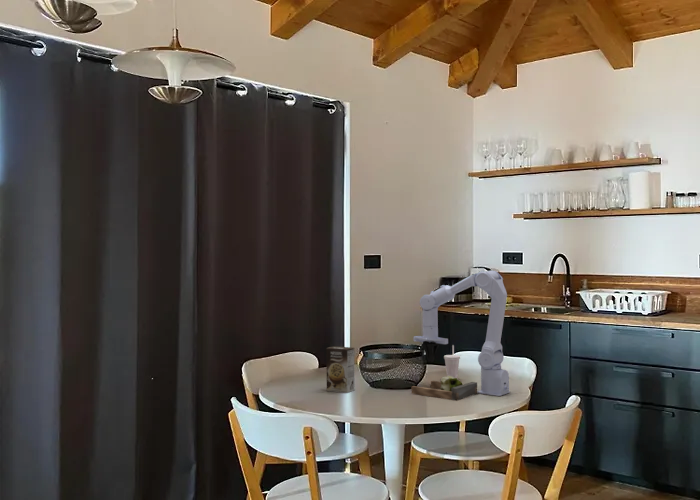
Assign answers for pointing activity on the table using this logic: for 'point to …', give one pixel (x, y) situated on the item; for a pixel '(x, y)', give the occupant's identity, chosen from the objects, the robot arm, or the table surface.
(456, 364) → the smoothie
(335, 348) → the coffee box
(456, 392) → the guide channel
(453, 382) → the fruit
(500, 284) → the robot arm
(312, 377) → the table surface
